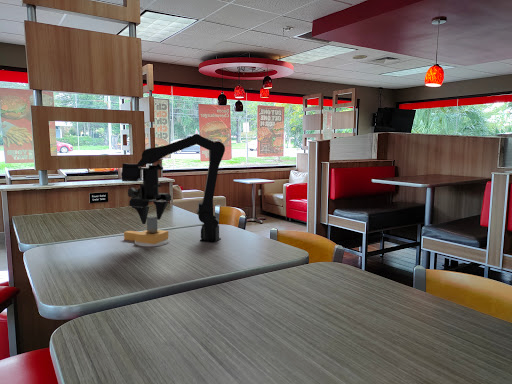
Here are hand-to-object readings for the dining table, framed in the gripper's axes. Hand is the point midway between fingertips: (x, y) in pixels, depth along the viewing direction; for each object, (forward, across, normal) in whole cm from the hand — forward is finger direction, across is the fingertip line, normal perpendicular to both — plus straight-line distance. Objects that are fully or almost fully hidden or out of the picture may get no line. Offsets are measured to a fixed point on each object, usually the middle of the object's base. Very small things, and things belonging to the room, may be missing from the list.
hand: (151, 221), depth 144 cm
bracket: (+8, 0, -3) cm, 9 cm away
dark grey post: (+7, 0, 0) cm, 7 cm away
